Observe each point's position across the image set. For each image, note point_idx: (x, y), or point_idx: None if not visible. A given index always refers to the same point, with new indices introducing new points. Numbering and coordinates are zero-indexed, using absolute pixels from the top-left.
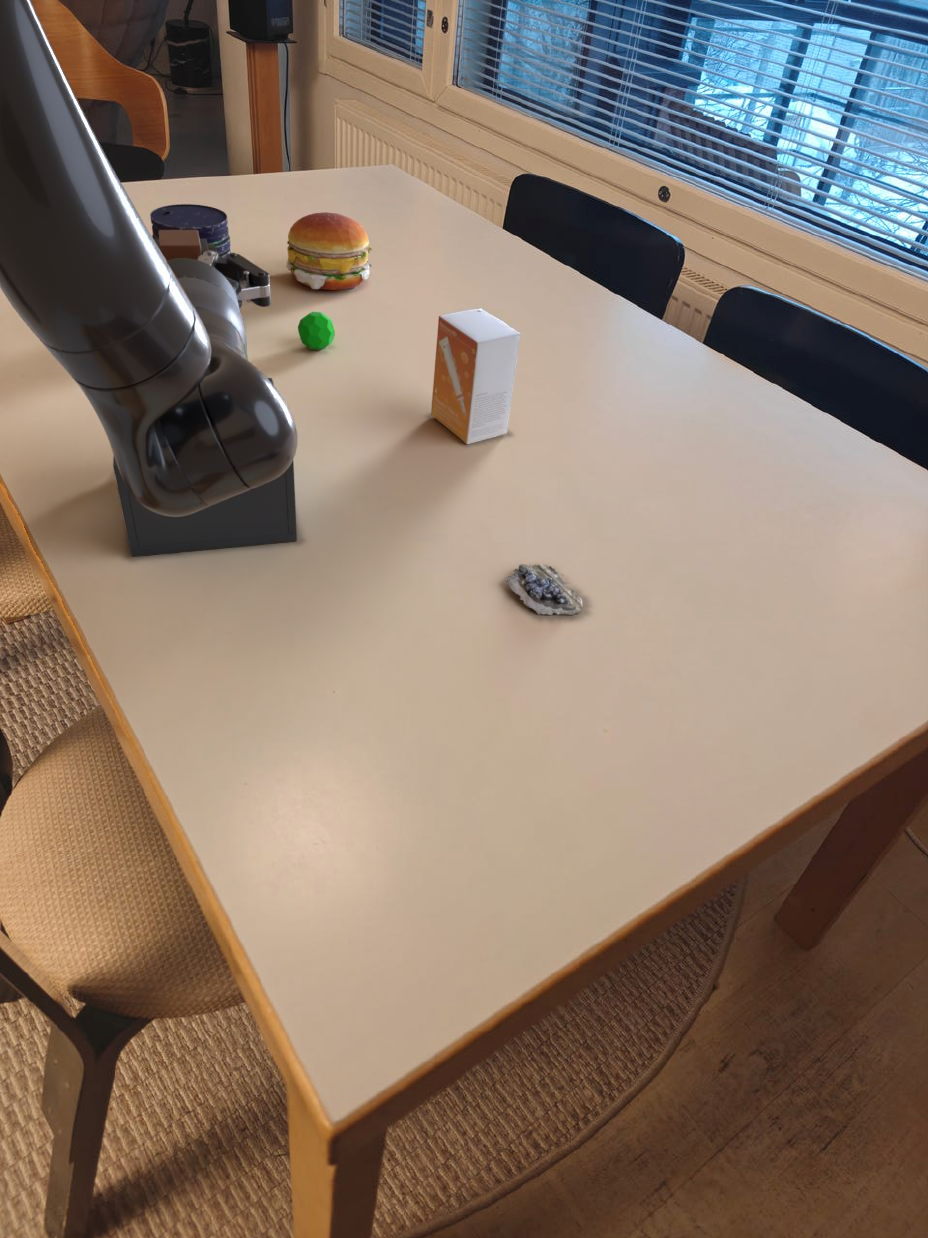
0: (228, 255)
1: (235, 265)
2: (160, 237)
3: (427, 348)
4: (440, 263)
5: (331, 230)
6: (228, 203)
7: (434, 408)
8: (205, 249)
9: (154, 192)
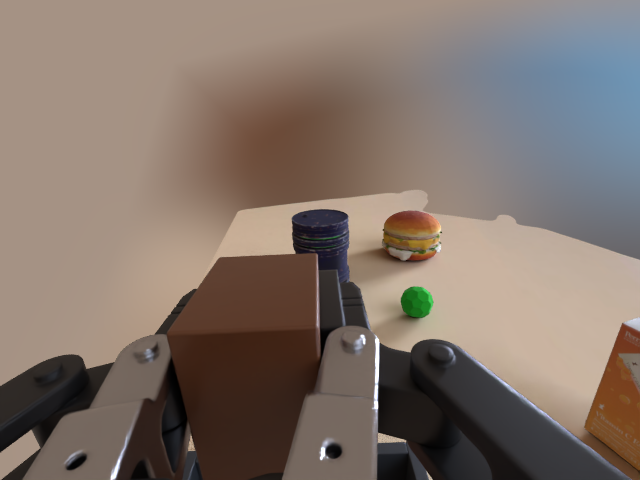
0: (421, 356)
1: (474, 435)
2: (200, 287)
3: (516, 316)
4: (482, 238)
5: (416, 221)
6: (343, 209)
7: (594, 424)
8: (334, 315)
9: (306, 206)
